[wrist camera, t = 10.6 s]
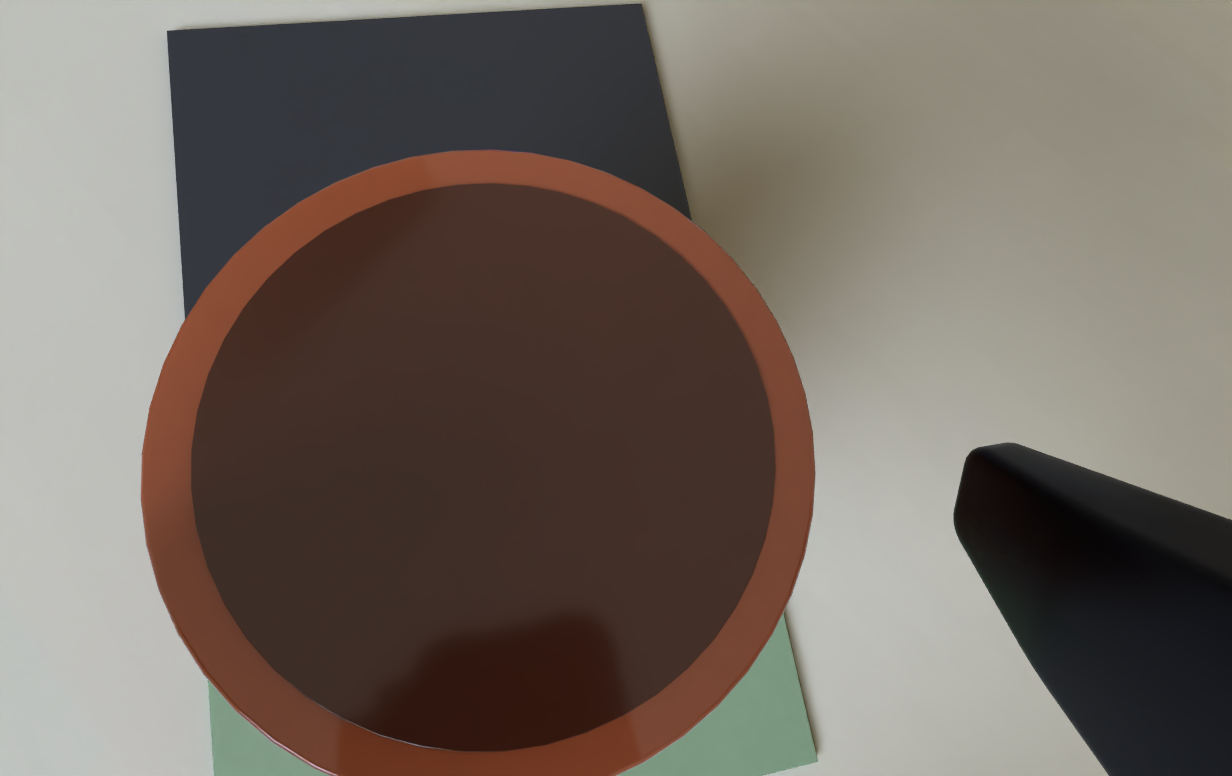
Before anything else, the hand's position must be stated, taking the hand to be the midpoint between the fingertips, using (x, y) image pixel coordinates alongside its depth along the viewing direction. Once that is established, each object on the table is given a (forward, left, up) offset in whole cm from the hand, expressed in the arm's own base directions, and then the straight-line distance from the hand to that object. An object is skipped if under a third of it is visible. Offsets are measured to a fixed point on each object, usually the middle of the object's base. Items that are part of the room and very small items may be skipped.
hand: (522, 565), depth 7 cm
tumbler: (+1, +1, -12) cm, 12 cm away
